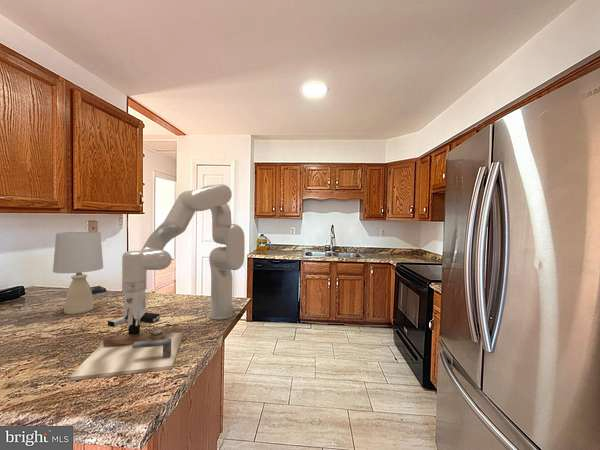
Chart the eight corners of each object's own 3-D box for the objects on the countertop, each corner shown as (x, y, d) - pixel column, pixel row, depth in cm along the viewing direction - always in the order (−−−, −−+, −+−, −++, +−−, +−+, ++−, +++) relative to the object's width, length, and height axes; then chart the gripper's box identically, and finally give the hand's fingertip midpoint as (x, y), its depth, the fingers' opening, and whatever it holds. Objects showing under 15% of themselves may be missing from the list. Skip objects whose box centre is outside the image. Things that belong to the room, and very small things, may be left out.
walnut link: (165, 336, 102) (165, 330, 102) (163, 341, 98) (163, 335, 98) (106, 341, 97) (106, 335, 97) (100, 347, 93) (100, 341, 93)
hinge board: (183, 334, 107) (183, 319, 107) (171, 368, 83) (172, 348, 83) (105, 341, 100) (105, 325, 100) (68, 380, 76) (68, 359, 76)
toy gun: (140, 324, 111) (161, 313, 122) (106, 320, 114) (130, 309, 126) (140, 332, 111) (161, 320, 123) (107, 328, 115) (130, 316, 126)
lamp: (43, 313, 127) (43, 232, 126) (87, 302, 144) (87, 231, 144) (68, 320, 120) (68, 234, 119) (112, 307, 137) (112, 232, 137)
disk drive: (99, 290, 172) (69, 295, 159) (99, 285, 171) (69, 290, 159) (106, 293, 166) (75, 298, 153) (106, 288, 166) (75, 293, 153)
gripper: (140, 290, 94) (139, 344, 94) (151, 280, 108) (151, 327, 108) (114, 291, 92) (114, 346, 92) (129, 281, 106) (129, 329, 107)
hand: (134, 336), depth 100 cm, fingers closed
